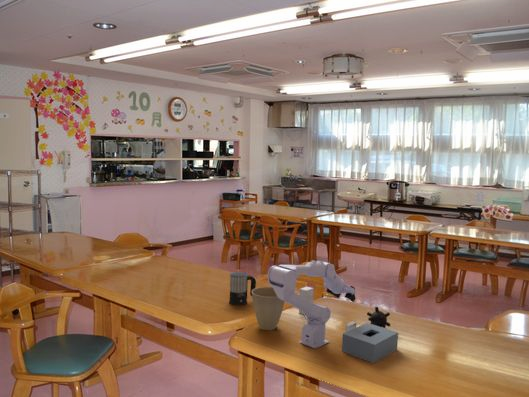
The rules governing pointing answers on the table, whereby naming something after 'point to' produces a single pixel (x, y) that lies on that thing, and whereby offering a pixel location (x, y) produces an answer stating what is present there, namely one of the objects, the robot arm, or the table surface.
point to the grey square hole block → (369, 342)
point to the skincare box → (306, 294)
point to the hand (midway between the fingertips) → (346, 297)
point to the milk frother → (240, 287)
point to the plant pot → (267, 307)
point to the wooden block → (350, 326)
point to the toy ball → (378, 318)
